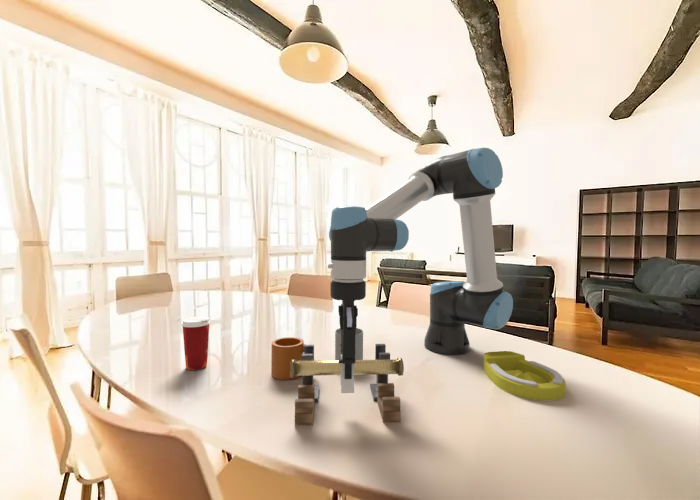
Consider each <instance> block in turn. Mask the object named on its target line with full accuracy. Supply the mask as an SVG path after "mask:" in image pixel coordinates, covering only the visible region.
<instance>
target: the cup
mask: <svg viewBox="0 0 700 500" xmlns="http://www.w3.org/2000/svg"><path fill="white" fill-rule="evenodd" d="M334 333H335V334H334V339H335V340H334V343H335V344H334V360H341V355H342V354H341V346H340V344H341V329H340V327H339V328H337V329H335V331H334ZM355 351H356V353H355V359H356V360H364V330H363V329H362V328H359V327H357V328H356V331H355Z"/></svg>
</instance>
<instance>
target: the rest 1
mask: <svg viewBox="0 0 700 500" xmlns="http://www.w3.org/2000/svg"><path fill="white" fill-rule="evenodd" d="M315 385H316V384H313V385H303V384H298V386H297V392H298V399H296V398H295V400H294V426H295V427H296V426H297V427H298V426H313V425H314V424H313V423H314V415H315V405H316V404H315V403H316V402H315Z"/></svg>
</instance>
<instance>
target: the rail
mask: <svg viewBox="0 0 700 500" xmlns="http://www.w3.org/2000/svg"><path fill="white" fill-rule="evenodd" d="M404 372H405V369H404V360H403V358H402V357H397V358H396V359H390V360H375V359H363V360H356V362H355V363H354V376H361V375H362V376H363V375H365V376H366V375H367V376H368V375H372V376H373V375H374V376H375V375H376V376H377V374H388V375H398V376H399V377H401V376H404ZM290 376H291V377H295V376H300V377H303V376H313V377H314V376H341V363H339V360H335V359H332V360H331V359H330V360H329V359H328V360H314V361H296V359H292V360H291V363H290Z"/></svg>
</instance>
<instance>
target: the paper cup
mask: <svg viewBox="0 0 700 500" xmlns="http://www.w3.org/2000/svg"><path fill="white" fill-rule="evenodd" d="M210 324H211V320H210V317H209V316H203V315H202V316H200V315H199V316H198V315H197V316H192V317H191V316H190V317H187V318H185V319H183V320H182V323H181V327H182V336H183V348H184V361H185V368H186V370H189V371H197V370H201V369H203V368H206V367H207V366H208V358H209V357H208V354H209V335H210Z"/></svg>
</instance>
